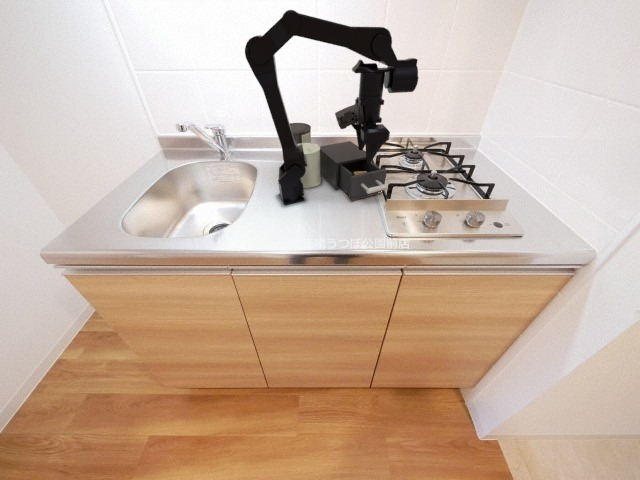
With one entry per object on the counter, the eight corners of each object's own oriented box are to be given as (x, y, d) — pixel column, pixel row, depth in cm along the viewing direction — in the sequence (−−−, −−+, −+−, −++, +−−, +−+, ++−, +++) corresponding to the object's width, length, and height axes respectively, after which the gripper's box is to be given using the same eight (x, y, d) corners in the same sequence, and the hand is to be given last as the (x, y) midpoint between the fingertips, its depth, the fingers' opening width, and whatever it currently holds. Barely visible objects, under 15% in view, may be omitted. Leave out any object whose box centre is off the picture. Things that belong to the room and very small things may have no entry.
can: (302, 190, 81) (299, 154, 73) (289, 179, 87) (285, 145, 79) (326, 183, 85) (326, 147, 77) (312, 172, 91) (310, 139, 83)
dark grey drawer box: (369, 181, 85) (372, 155, 79) (335, 189, 81) (336, 163, 75) (348, 165, 95) (350, 140, 89) (318, 171, 91) (317, 146, 85)
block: (367, 188, 77) (369, 176, 75) (354, 189, 77) (355, 177, 75) (365, 182, 80) (366, 171, 78) (352, 183, 80) (353, 171, 78)
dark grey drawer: (392, 199, 74) (396, 177, 70) (359, 208, 71) (361, 185, 66) (361, 174, 87) (363, 153, 82) (331, 181, 84) (331, 160, 79)
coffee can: (290, 174, 90) (286, 133, 81) (281, 163, 97) (277, 125, 88) (316, 168, 93) (315, 128, 84) (306, 158, 101) (304, 121, 91)
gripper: (332, 88, 68) (331, 145, 78) (345, 104, 54) (342, 172, 64) (372, 86, 69) (366, 143, 79) (395, 102, 54) (384, 169, 65)
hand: (364, 156), depth 72 cm, fingers open, 9 cm apart
